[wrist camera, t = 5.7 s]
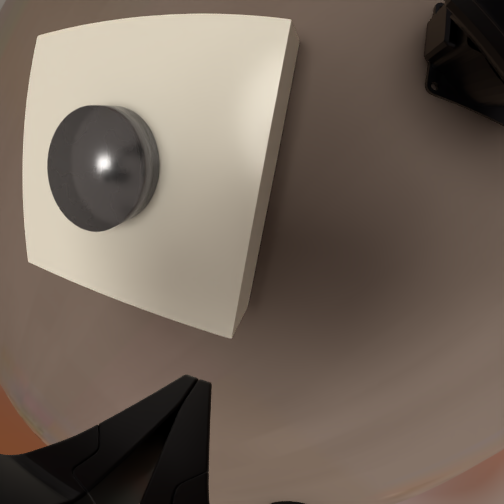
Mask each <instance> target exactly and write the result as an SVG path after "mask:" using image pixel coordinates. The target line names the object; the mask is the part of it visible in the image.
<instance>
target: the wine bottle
mask: <svg viewBox="0 0 504 504" xmlns="http://www.w3.org/2000/svg"><path fill="white" fill-rule="evenodd" d="M272 504H303V503H298V502H275V503H272Z"/></svg>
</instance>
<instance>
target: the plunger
mask: <svg viewBox="0 0 504 504" xmlns="http://www.w3.org/2000/svg"><path fill="white" fill-rule="evenodd" d="M159 167H160V163H159V153H158V147H157V144H156V140H155V138H154V136H153V133H152V131H151V130H150V128H149V126H148V125H147V124H146V122H145V121H144V120H143V119H142V118H141V117H140V116H139V115H138V114H136V113H135V112H134V111H132V110H130V109H128V108H125V107H121V106H109V105H88V106H83V107H80V108H78V109H76V110H74V111H72V112H71V113H70V114H68V115H67V116H66V117H65V118H64V119H63V120H62V122H61V123H60V124H59V126H58V127H57V129H56V131H55V133H54V135H53V138H52V140H51V143H50V147H49V152H48V160H47V172H48V180H49V185H50V189H51V192H52V195H53V197H54V200H55V202H56V204H57V206H58V207H59V209H60V210H61V212H62V213H63V214H64V215H65V217H66V218H67V219H68V220H69V221H71V222H72V223H73V224H74V225H76V226H78V227H79V228H81V229H84V230H87V231H91V232H101V231H106V230H109V229H111V228H113V227H115V226H117V225H119V224H121V223H123V222H125V221H127V220H129V219H131V218H133V217H135V216H136V215H138V214H139V213H140V212H141V211H142V210H143V209H144V208H145V207H146V206H147V205H148V203H149V202H150V200H151V198H152V197H153V194H154V192H155V190H156V186H157V183H158V177H159Z"/></svg>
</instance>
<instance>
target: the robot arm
mask: <svg viewBox="0 0 504 504" xmlns="http://www.w3.org/2000/svg"><path fill="white" fill-rule="evenodd" d="M444 1H445V4H443V3H438V4H436V6H435V7H434V14H433V17H432V19H431V20H430V21H429V22H428V25H427V35H426V44H425V52H424V57H425V59H426V60H427V61H429V62H428V69H427V76H426V83H425V88H426V90H427V91H428V93H430V94H431V95H434V96H437V97H439V98H442V99H445V100H447V101H450V102H452V103H455V104H457V105H459V106H462V107H464V108H467V109H469V110H471V111H473V112H476V113H478V114H480V115H482V116H484V117H486V118H489V119H491V120H493V121H495V122H497V123H499V124H501V125H503V126H504V0H444ZM439 8H440V9H439ZM431 83H434V84H435V85H436V87H437V89H436V90H433V89H432V88H431ZM211 389H212V384H211V383H210V382H207V381H204V380H201V379H200V380H198V379H197V378H195V377H193V376H190V375H184V376H182V377H180V378H179V379H177V380H175V381H174V382H172V383H170V384H169V385H167V386H165V387H164V388H162V389H160V390H158V391H157V392H155V393H153V394H152V395H150V396H148V397H146V398H145V399H143V400H141V401H139V402H138V403H136V404H134V405H132V406H131V407H129V408H127V409H125V410H123V411H122V412H120V413H118V414H116V415H114V416H113V417H111V418H109V419H107V420H105V421H103V422H102V423H100V424H99V425H96V426H94V427H92V428H90V429H88V430H86V431H84V432H82V433H80V434H78V435H76V436H73V437H71V438H68V439H66V440H63V441H61V442H58V443H55V444H52V445H49V446H46V447H44V448H41V449H37V450H34V451H32V452H28V453H24V454H19V455H3V454H0V504H139V503H140V504H209V485H208V483H209V473H208V472H209V440H210V412H211Z"/></svg>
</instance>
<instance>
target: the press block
mask: <svg viewBox="0 0 504 504" xmlns="http://www.w3.org/2000/svg"><path fill="white" fill-rule="evenodd" d="M299 42H300V41H299V38H298V35H297V33H296V30H295V28H294V25H293V23H292V20H290V19H282V18H273V17H263V16H251V15H234V14H172V15H156V16H144V17H134V18H125V19H117V20H110V21H104V22H98V23H92V24H86V25H81V26H76V27H71V28H67V29H63V30H58V31H54V32H50V33H46V34H43V35H39V36H38V37H37V41H36V46H35V51H34V56H33V62H32V67H31V73H30V80H29V87H28V95H27V103H26V113H25V125H24V140H23V208H24V224H25V236H26V247H27V255H28V262H30V263H32V264H34V265H36V266H39V267H41V268H43V269H45V270H47V271H50V272H52V273H54V274H56V275H59V276H61V277H63V278H65V279H68V280H70V281H72V282H75V283H77V284H80V285H82V286H84V287H87V288H89V289H92V290H94V291H97V292H99V293H102V294H104V295H107V296H109V297H112V298H114V299H117V300H119V301H122V302H125V303H127V304H130V305H133V306H135V307H138V308H141V309H143V310H146V311H149V312H152V313H154V314H157V315H160V316H163V317H166V318H169V319H171V320H174V321H177V322H180V323H183V324H186V325H189V326H192V327H195V328H198V329H201V330H204V331H208V332H211V333H214V334H217V335H220V336H223V337H227V338H230V339H232V337H233V335H234V333H235V331H236V329H237V327H238V325H239V323H240V321H241V319H242V317H243V315H244V313H245V311H246V309H247V307H248V303H249V298H250V293H251V288H252V283H253V278H254V273H255V268H256V263H257V258H258V253H259V248H260V243H261V238H262V233H263V228H264V223H265V218H266V213H267V208H268V203H269V198H270V193H271V188H272V182H273V177H274V172H275V167H276V162H277V157H278V152H279V147H280V142H281V136H282V131H283V126H284V121H285V116H286V110H287V105H288V100H289V95H290V90H291V84H292V79H293V74H294V69H295V63H296V58H297V53H298V48H299ZM88 105H109V106H121V107H125V108H128V109H130V110H132V111H134V112H135V113H136V114H138V115H139V116H140V117H141V118H142V119H143V120H144V121H145V122H146V124H147V125H148V126H149V128H150V130H151V131H152V133H153V136H154V138H155V140H156V144H157V147H158V153H159V163H160V167H159V177H158V183H157V186H156V190H155V192H154V194H153V197H152V198H151V200H150V202H149V203H148V205H147V206H146V207H145V208H144V209H143V210H142V211H141V212H140V213H139V214H138V215H136V216H135V217H133V218H131V219H129V220H127V221H125V222H123V223H121V224H119V225H117V226H115V227H113V228H111V229H109V230H106V231H101V232H91V231H87V230H84V229H81V228H79V227H78V226H76V225H74V224H73V223H72V222H71V221H69V220H68V219H67V218H66V217H65V215H64V214H63V213H62V212H61V210H60V209H59V207H58V206H57V204H56V202H55V200H54V197H53V195H52V192H51V189H50V185H49V180H48V172H47V160H48V152H49V147H50V143H51V140H52V138H53V135H54V133H55V131H56V129H57V127H58V126H59V124H60V123H61V122H62V120H63V119H64V118H65V117H66V116H67V115H68V114H70V113H71V112H72V111H74V110H76V109H78V108H80V107H83V106H88Z"/></svg>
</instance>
